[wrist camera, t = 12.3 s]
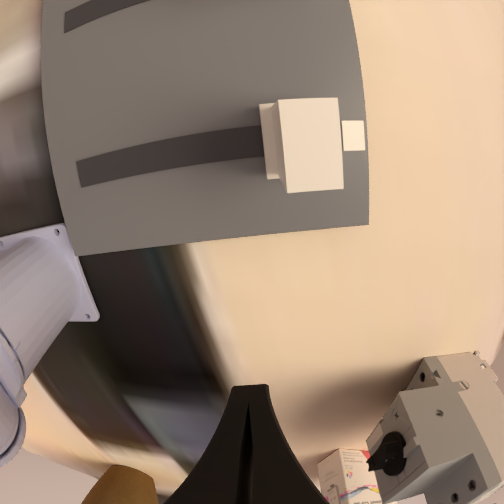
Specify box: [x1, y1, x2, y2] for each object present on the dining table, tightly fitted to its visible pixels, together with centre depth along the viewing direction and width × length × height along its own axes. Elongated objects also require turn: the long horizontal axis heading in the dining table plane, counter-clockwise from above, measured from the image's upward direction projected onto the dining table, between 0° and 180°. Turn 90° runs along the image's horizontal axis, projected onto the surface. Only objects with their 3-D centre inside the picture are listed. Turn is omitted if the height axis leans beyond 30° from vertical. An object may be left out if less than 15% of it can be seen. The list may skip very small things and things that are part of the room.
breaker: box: [259, 98, 344, 193], centre depth 11 cm, size 3×4×5 cm
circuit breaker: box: [366, 351, 504, 504], centre depth 18 cm, size 8×14×15 cm, turn 85°
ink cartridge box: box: [318, 449, 397, 504], centre depth 24 cm, size 9×5×15 cm, turn 64°
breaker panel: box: [41, 0, 369, 256], centre depth 13 cm, size 18×20×2 cm
